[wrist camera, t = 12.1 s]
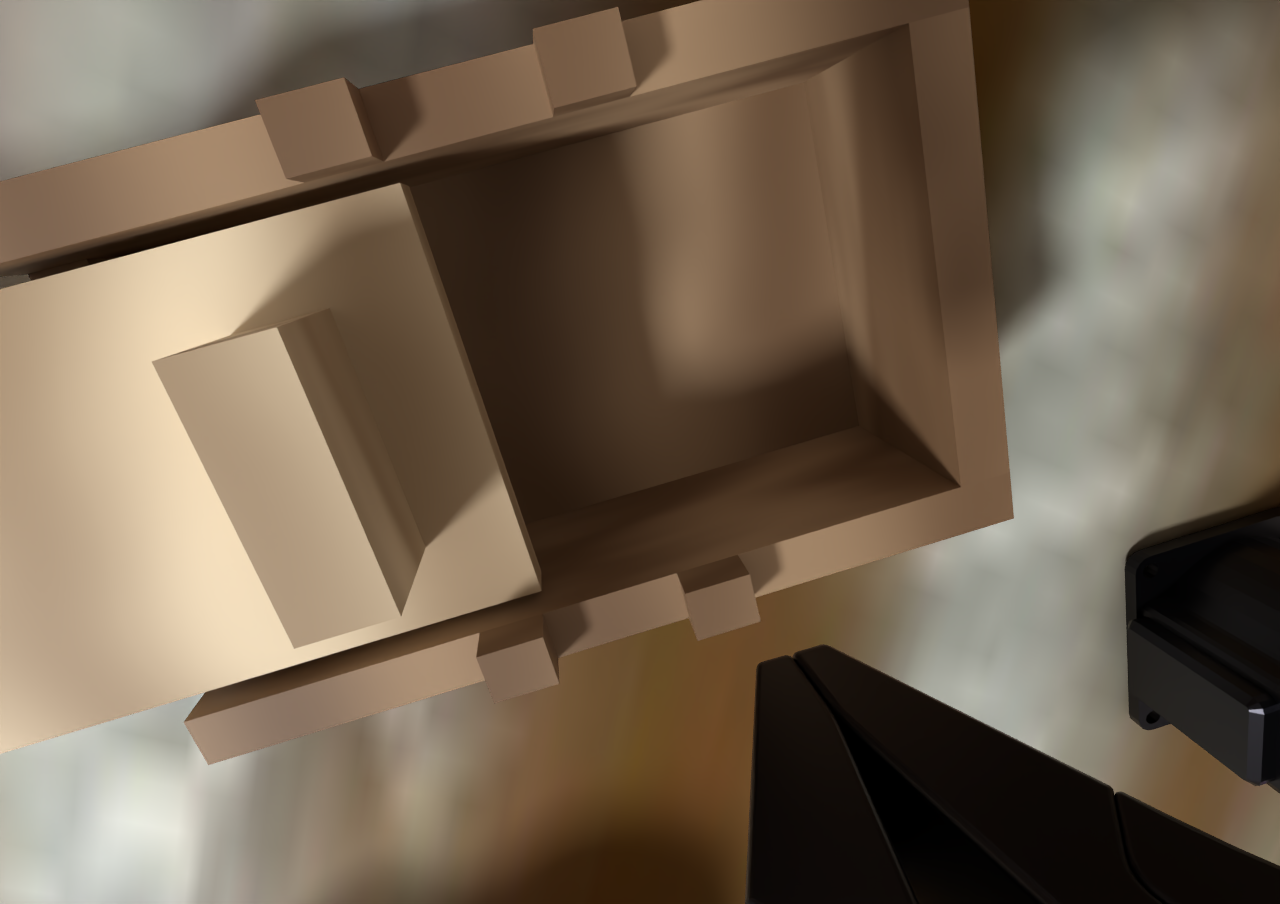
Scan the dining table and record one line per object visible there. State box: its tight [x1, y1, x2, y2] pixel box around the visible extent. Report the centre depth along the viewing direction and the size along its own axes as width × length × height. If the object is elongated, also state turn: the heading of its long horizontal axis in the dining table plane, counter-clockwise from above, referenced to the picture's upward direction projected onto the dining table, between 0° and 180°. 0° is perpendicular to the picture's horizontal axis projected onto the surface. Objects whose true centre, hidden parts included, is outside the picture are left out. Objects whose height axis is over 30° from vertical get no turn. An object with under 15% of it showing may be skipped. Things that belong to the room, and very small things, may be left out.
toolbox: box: [0, 0, 1014, 765], centre depth 14 cm, size 16×10×6 cm, turn 104°
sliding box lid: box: [0, 183, 542, 754], centre depth 11 cm, size 14×7×3 cm, turn 105°
